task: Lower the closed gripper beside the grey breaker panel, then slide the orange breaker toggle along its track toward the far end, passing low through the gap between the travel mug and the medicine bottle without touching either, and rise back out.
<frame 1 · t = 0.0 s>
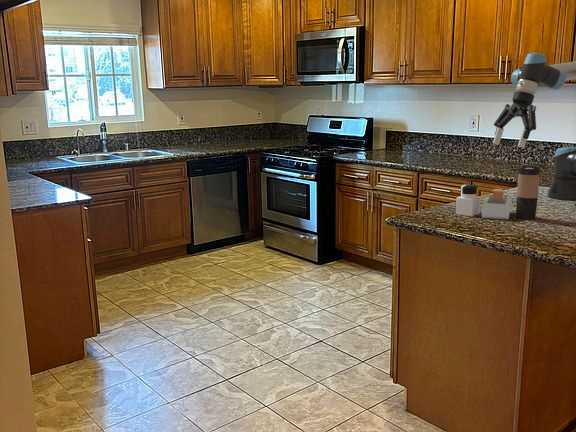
hand: (507, 145, 225), 28 cm above the counter, tool tilted 20°, fingers open, 13 cm apart
toggle: (498, 194, 230), point 8 cm above the counter, slide at 0.0 cm, touching breaker panel
breaker panel: (496, 214, 229), on the counter
medicine bottle: (467, 214, 232), on the counter
travel mug: (525, 218, 223), on the counter
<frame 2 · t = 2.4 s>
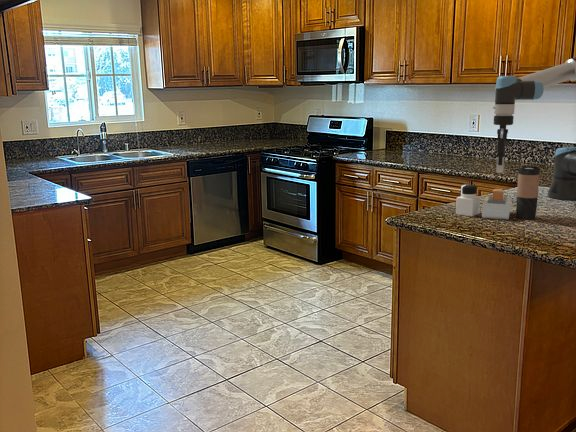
hand: (499, 172, 235), 16 cm above the counter, tool pointing down, fingers closed
nothing on the counter moved.
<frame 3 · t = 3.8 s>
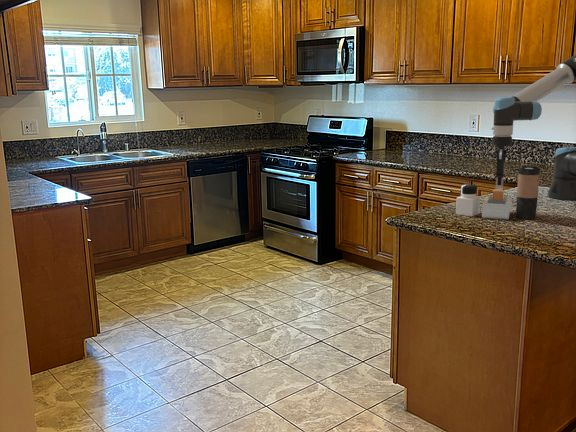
hand: (498, 192, 236), 7 cm above the counter, tool pointing down, fingers closed
nothing on the counter moved.
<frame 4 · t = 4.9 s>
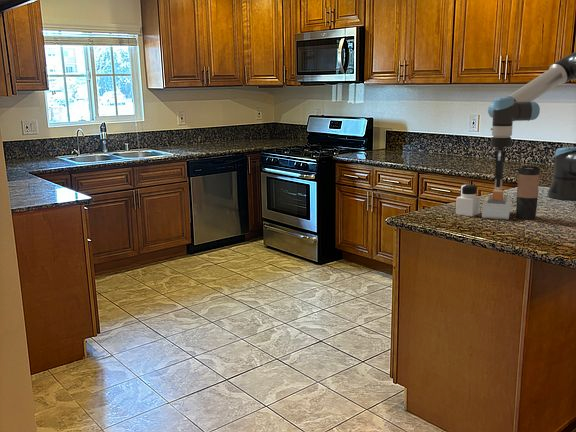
hand: (497, 194, 231), 8 cm above the counter, tool pointing down, fingers closed
toggle: (497, 194, 229), point 8 cm above the counter, slide at 1.1 cm, touching breaker panel, gripper
everything else where it was.
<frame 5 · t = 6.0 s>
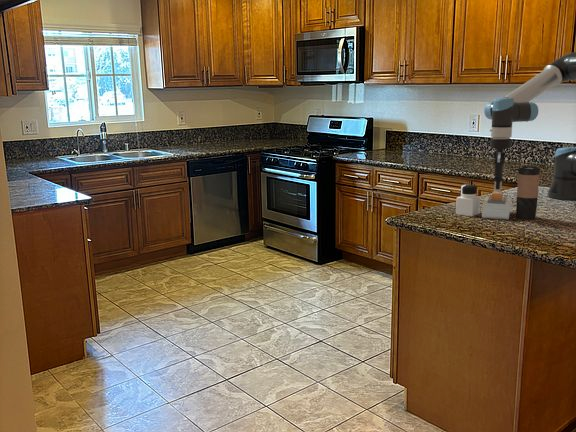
hand: (497, 196, 227), 7 cm above the counter, tool pointing down, fingers closed
toggle: (497, 196, 225), point 8 cm above the counter, slide at 5.6 cm, touching breaker panel, gripper
everything else where it was.
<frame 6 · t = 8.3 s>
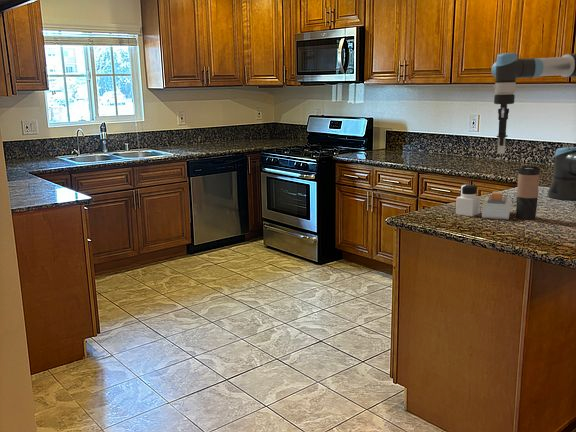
hand: (501, 153, 228), 24 cm above the counter, tool pointing down, fingers closed
toggle: (497, 196, 225), point 8 cm above the counter, slide at 5.7 cm, touching breaker panel
everything else where it was.
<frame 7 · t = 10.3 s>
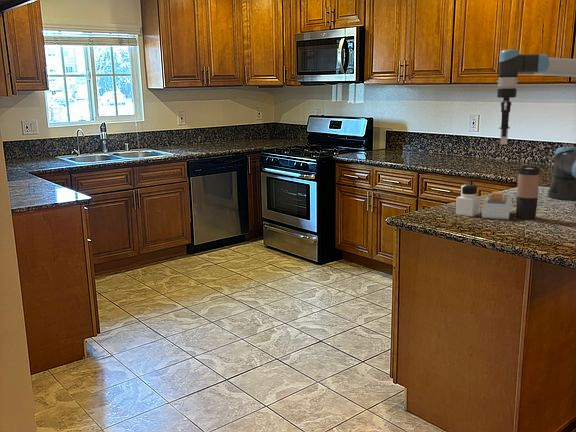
hand: (503, 144, 243), 26 cm above the counter, tool pointing down, fingers closed
nothing on the counter moved.
at the end: toggle slide at 5.7 cm; travel mug moved 0.2 cm from its start; medicine bottle moved 0.2 cm from its start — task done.
